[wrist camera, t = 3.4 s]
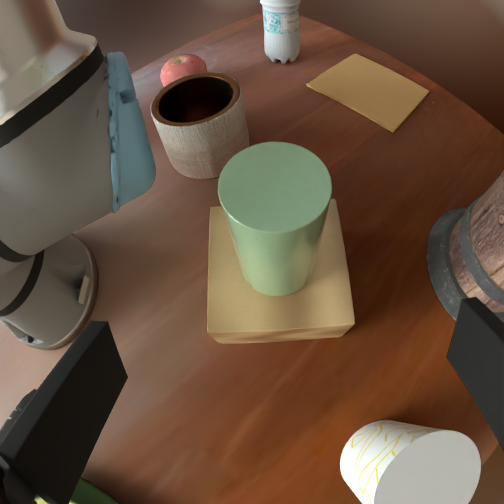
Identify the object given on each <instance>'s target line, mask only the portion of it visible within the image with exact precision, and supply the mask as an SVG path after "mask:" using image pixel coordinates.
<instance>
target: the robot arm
mask: <svg viewBox="0 0 504 504" xmlns="http://www.w3.org/2000/svg"><path fill="white" fill-rule="evenodd" d="M155 175H156V167H155V162H154V158H153V154H152V150H151V146H150V143H149V139H148V135H147V132H146V128H145V125H144V121H143V117H142V114H141V110H140V107H139V103H138V100H137V98H136V93H135V89H134V86H133V81H132V77H131V73H130V70H129V67H128V63H127V60H126V57H125V55H124V53H122V52H115V53H113V52H110V53H108V54H106V56H105V57H104V56H103V55H102V53H101V50H100V48H99V45H98V43H97V41H96V38H95V37H93V36H90V35H87V34H83V33H79V32H75V31H71V30H69V29H68V28H67V27H66V25H65V23H64V20H63V18H62V16H61V13H60V11H59V9H58V6H57V4H56V2H55V0H0V322H1V323H2V324H3V325H4V326H5V327H6V328H7V329H8V330H9V331H10V332H11V333H12V334H13V335H14V336H16V337H17V338H18V339H19V340H20V341H22V342H23V343H25V344H27V345H29V346H31V347H35V348H38V349H42V350H52V349H56V348H59V347H61V346H63V345H65V344H67V343H68V342H70V341H71V340H72V339H73V338H74V337H75V336H76V335H77V334H78V333H79V332H80V331H81V329H82V328H83V327H84V325H85V324H86V322H87V320H88V318H89V316H90V314H91V312H92V309H93V306H94V303H95V299H96V294H97V287H98V274H97V267H96V263H95V260H94V258H93V256H92V253H91V252H90V250H89V249H88V248H87V247H86V246H85V245H84V244H83V243H82V242H81V241H80V240H79V239H78V238H76V237H75V236H73V235H71V234H72V233H74V232H75V231H77V230H79V229H81V228H83V227H84V226H86V225H88V224H90V223H92V222H94V221H96V220H98V219H99V218H101V217H103V216H105V215H107V214H109V213H111V212H113V213H115V212H116V211H117V210H119V208H120V206H122V205H124V204H126V203H127V202H129V201H131V200H133V199H135V198H136V197H138V196H140V195H142V194H144V193H145V192H146V191H147V190H149V189H150V187H151V186H152V184H153V182H154V180H155ZM446 358H447V359H448V360H449V362H450V363H451V365H452V366H453V368H454V369H455V371H456V372H457V374H458V376H459V377H460V379H461V380H462V382H463V383H464V385H465V386H466V388H467V390H468V391H469V393H470V394H471V396H472V397H473V399H474V401H475V402H476V404H477V406H478V407H479V409H480V411H481V412H482V414H483V416H484V417H485V419H486V421H487V422H488V424H489V426H490V428H491V429H492V431H493V433H494V435H495V436H496V438H497V440H498V442H499V444H500V445H501V447H502V449H503V451H504V323H503V322H502V321H501V320H500V319H499V318H498V317H497V316H496V315H495V314H494V313H493V312H492V311H491V310H490V309H489V308H488V307H487V306H486V305H485V304H484V303H483V302H481V301H480V300H479V299H478V298H477V297H471V298H465V299H461V304H460V308H459V312H458V316H457V320H456V324H455V328H454V332H453V336H452V339H451V343H450V346H449V350H448V353H447V356H446ZM127 378H128V376H127V374H126V371H125V369H124V366H123V363H122V361H121V358H120V355H119V353H118V350H117V347H116V344H115V341H114V338H113V335H112V332H111V329H110V326H109V323H108V321H91V322H90V323H89V324H88V325H87V327H86V328H85V329H84V330H83V332H82V333H81V334H80V335H79V336H78V338H77V339H76V340H75V341H74V343H73V344H72V345H71V346H70V348H69V349H68V350H67V351H66V353H65V354H64V355H63V357H62V358H61V359H60V360H59V362H58V363H57V364H56V366H55V367H54V368H53V369H52V371H51V372H50V373H49V375H48V376H47V377H46V379H45V380H44V381H43V383H42V384H41V385H40V387H39V388H38V390H36V389H34V390H33V391H31V392H30V393H29V394H27V395H26V396H25V397H24V398H23V399H22V400H21V401H20V403H19V404H18V406H17V407H16V410H14V411H13V412H12V414H11V415H10V419H7V421H6V422H5V424H4V425H3V427H2V428H1V430H0V504H37V502H36V501H35V500H34V499H35V497H36V495H38V496H39V497H41V498H42V499H43V500H44V501H45V502H46V503H47V504H69V502H70V500H71V498H72V495H73V493H74V491H75V488H76V486H77V484H78V481H79V479H80V477H81V475H82V472H83V470H84V468H85V466H86V464H87V461H88V459H89V457H90V455H91V453H92V450H93V448H94V446H95V444H96V442H97V440H98V438H99V435H100V433H101V431H102V429H103V427H104V425H105V423H106V421H107V419H108V417H109V415H110V412H111V410H112V408H113V406H114V404H115V402H116V400H117V398H118V396H119V394H120V392H121V390H122V388H123V386H124V384H125V382H126V380H127Z"/></svg>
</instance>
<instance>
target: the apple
mask: <svg viewBox="0 0 504 504" xmlns="http://www.w3.org/2000/svg"><path fill="white" fill-rule="evenodd" d="M201 72H207V67H206V64H205V62H204V61H203V60H202V59H201V58H200V57H198V56H196V55H191V54H186V55H180V56H176V57H174V58H172V59H170V60H169V61H168V62H166V64H165V65H164V66H163V68H162V70H161V74H160V76H161V81H162V84H163V86H164V87H165V86H166V85H168V84H169V83H171V82H173V81H175V80H177V79H179V78H181V77H184V76H187V75H190V74H195V73H201Z"/></svg>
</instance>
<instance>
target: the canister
mask: <svg viewBox="0 0 504 504" xmlns="http://www.w3.org/2000/svg"><path fill="white" fill-rule="evenodd" d="M218 195H219V200H220V203H221V206H222V210H223V213H224V216H225V219H226V223H227V226H228V229H229V233H230V236H231V239H232V242H233V246H234V249H235V252H236V255H237V259H238V262H239V265H240V268H241V272H242V274H243V276H244V278H245V280H246V281H247V283H248V284H249V285H250V286H251V287H252V288H254V289H255V290H257V291H258V292H260V293H263V294H265V295H269V296H285V295H289V294H292V293H294V292H296V291H298V290H300V289H301V288H302V287H303V286H305V285H306V284H307V282H308V281H309V280H310V278H311V276H312V274H313V271H314V267H315V263H316V259H317V255H318V251H319V247H320V243H321V239H322V235H323V230H324V226H325V222H326V217H327V213H328V209H329V204H330V200H331V195H332V180H331V177H330V174H329V171H328V169H327V168H326V166H325V165H324V163H323V162H322V161H321V160H320V158H318V157H317V156H316V155H315V154H314V153H312V152H311V151H309V150H307V149H305V148H303V147H301V146H298V145H295V144H292V143H286V142H264V143H260V144H256V145H253V146H250V147H248V148H245V149H244V150H242V151H240V152H239V153H237V154H236V155H235V156H233V157H232V158H231V159H230V160H229V161H228V163H227V164H226V165H225V167H224V168H223V170H222V172H221V174H220V178H219V181H218Z"/></svg>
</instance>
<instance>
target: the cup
mask: <svg viewBox="0 0 504 504" xmlns="http://www.w3.org/2000/svg"><path fill="white" fill-rule="evenodd" d="M340 469H341V474H342V477H343V479H344V480H345V482H346V483H347V484H348V486H349V487H350V488H351V490H352V491H353V492H354V493H355V495H356V496H357V497H358V499H359V500H360V501H361V502H362V504H468V503H469V501H470V499H471V498H472V496H473V494H474V492H475V490H476V487H477V485H478V481H479V477H480V470H481V461H480V455H479V452H478V449H477V447H476V445H475V444H474V443H473V441H472V440H471V439H470V438H469V437H467V436H466V435H464V434H462V433H460V432H456V431H451V430H444V429H437V428H431V427H425V426H419V425H413V424H408V423H403V422H398V421H392V420H380V421H376V422H372V423H370V424H368V425H366V426H364V427H362V428H361V429H359V430H358V431H357V432H356V433H355V434H354V435H353V436H352V437H351V438H350V439H349V440H348V442H347V443H346V445H345V447H344V449H343V452H342V455H341V459H340Z"/></svg>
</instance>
